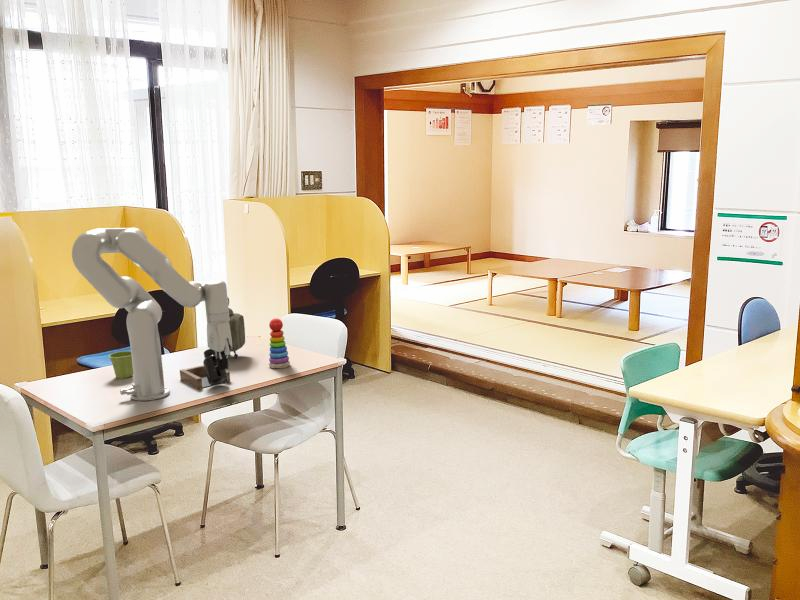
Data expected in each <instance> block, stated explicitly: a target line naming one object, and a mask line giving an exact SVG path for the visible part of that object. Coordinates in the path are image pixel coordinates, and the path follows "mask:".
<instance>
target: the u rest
mask: <svg viewBox="0 0 800 600" xmlns="http://www.w3.org/2000/svg"><path fill="white" fill-rule="evenodd" d="M226 373H227V377H228V379H227V381H226V382H227V383H230V382H231V374H230V373H231V372H230V371H228V370H226ZM179 376H180V380H181V381H182V380H183V381H182V382H184V383H185V384H188V385H190V386H191V385H192V387H193V386H194V387H193V388H195V387H196V388H195V389H197V390H199V389H200V388H201V389H204V387H205V388H209V387H214V386H215V385H210V384H209V383H208V379H207V375H206V372H205V368H204V364H201V365H198V366H192V367H188V368H184V369H179ZM229 381H230V382H229ZM223 384H225V382H224V383H223Z"/></svg>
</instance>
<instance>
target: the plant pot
mask: <svg viewBox="0 0 800 600" xmlns="http://www.w3.org/2000/svg"><path fill="white" fill-rule="evenodd" d="M108 358H109V360H110V361H111V363H112V367H113V370H114V375H115V378H116V377H117V378H118V379H120V378H121V379H127V378H130V377H134V375H133V365H132V356H131V350H124V351H123V350H122V351H117V352H113V353H110V354H109V355H108Z"/></svg>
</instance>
